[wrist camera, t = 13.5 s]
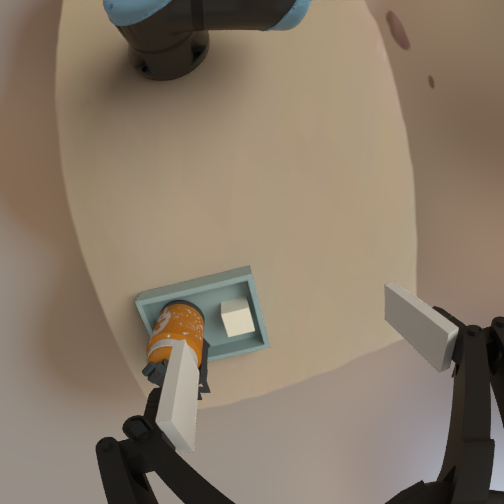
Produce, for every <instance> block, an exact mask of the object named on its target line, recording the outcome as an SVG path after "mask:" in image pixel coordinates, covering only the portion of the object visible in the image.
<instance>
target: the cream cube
mask: <svg viewBox="0 0 504 504" xmlns="http://www.w3.org/2000/svg"><path fill="white" fill-rule="evenodd" d="M221 316H222V319H223V322H224V325H225V328H226V331H227V334H228V337H232V336H236V335H240V334H244V333H248V332H253V331H255V328H254V324H253V319H252V315H251V311H250V308H249V304H248V300H247V296H244V297H240V298H236V299H232V300H227V301H223V302H221Z"/></svg>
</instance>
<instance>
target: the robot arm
mask: <svg viewBox="0 0 504 504" xmlns="http://www.w3.org/2000/svg"><path fill="white" fill-rule="evenodd" d="M310 4H311V0H103V6H104V9H105V11H106V12H107V14H108V17H109V20H110V21H111V22H112V23H113V24H114V25H115V26H116V27H117V29H118V30H119V31H120V33H121V34H122V35H123V37H124V38H125V39H126V40H127V42H128V43H129V58H130V61H131V63H132V65H133V67H134V68H135V69H136V70H137V71H138V72H139V73H140V74H141V75H143V76H144V77H147V78H149V79H153V80H170V79H175V78H178V77H181V76H183V75H185V74H187V73H189V72H191V71H192V70H193V69H195V68H196V67H197V66H198V65H199V64H200V63H201V62H202V61H203V59H204V58H205V56H206V54H207V52H208V49H209V34H208V30H259V31H270V30H280V31H285V30H290V29H292V28H294V27H296V26H297V25H298V24H299V23H300V22H301V21H302V19H303V18H304V16H305V15H306V13H307V11H308V9H309V6H310ZM384 288H385V320H386V321H387V322H388V323H389V324H390V325H391V326H392V327H393V328H394V329H395V330H396V331H397V332H398V333H400V334H401V335H402V336H403V337H404V338H405V339H406V340H407V341H408V342H409V343H410V344H411V345H412V346H413V347H414V348H415V349H416V350H417V351H418V352H419V353H420V354H421V355H422V356H423V357H424V358H425V359H426V360H427V361H428V362H429V363H430V364H431V365H432V366H433V367H434V368H435V369H436V370H437V371H438V372H439V373H441V372H443V371H445V370H446V369H448V368H450V364H451V361H452V360H453V361H454V362H455V363H456V364H455V367H454V371H453V374H452V377H454V388H453V401H452V411H451V420H450V428H449V434H448V440H447V445H446V451H445V456H444V460H443V465H442V469H441V471H440V474H439V476H438V478H437V481H435V482H429V483H425V484H424V482H423V481H422V480H421V481H420V482H418V483H416V484H414V485H412V486H411V487H409V488H407V489H405V490H403V491H401V492H400V493H398V494H397V495H396V496H394V497H393V498H392V499H390V500H389V501H388V502H386V503H385V504H504V491H495V490H489V487H490V482H491V475H492V467H493V459H494V448H495V441H494V439H491V438H490V430H491V429H490V428H491V395H490V383H491V386H492V389H493V392H494V395H495V398H496V401H497V405H498V408H499V412H500V415H501V419H502V423H503V427H504V317H496V318H494V319H493V320H492V323H491V326H490V327H486V328H484V329H482V328H481V327H479V326H477V325H468V326H466V325H465V324H463V323H462V322H460V321H459V320H458V319H456V318H455V317H454V316H452V315H451V314H449V313H448V312H446V311H445V310H444V309H442V308H439V307H436V306H434V307H432V308H431V307H430V306H429V305H427V304H426V303H424V302H423V301H421V300H420V299H419V298H417V297H416V296H414V295H413V294H412V293H410V292H409V291H407V290H406V289H404V288H403V287H401V286H400V285H398V284H397V283H396V282H394V281H393V282H390V283H387V284H384ZM198 384H199V370H198V368H197V365H196V363H195V361H194V359H193V356H192V354H191V352H190V349H189V347H188V345H187V342H186V340H185V339H184V340H179V341H174V343H173V347H172V351H171V355H170V359H169V363H168V367H167V371H166V375H165V380H164V384H163V387H160V388H154V389H153V390H152V391H151V393H150V394H149V397H148V400H147V404H146V409H145V413H144V416H140V415H136V416H132V417H130V418H128V419H127V420H126V421H125V423H124V424H123V428H122V429H123V432H124V433H125V435H126V436H127V437H128V438H129V439H126V440H122V441H119V442H118V441H116V439H114V438H113V437H104V438H103V439H101V440H100V441H99V442H98V443H97V445H96V454H97V460H98V465H99V470H100V474H101V478H102V482H103V486H104V490H105V494H106V498H107V501H108V504H158V502H157V499H156V497H155V495H154V493H153V491H152V489H151V486H150V484H149V481H148V479H147V477H146V474H145V473H148V472H152V471H155V472H156V473H157V474H158V476H160V478H161V479H162V480H163V481H164V482H165V483H166V485H167V486H168V487H169V488H170V489H171V490H172V491H173V492H174V493H175V494H176V495H177V496H178V497H179V498H180V499H181V500H182V501H183V502H184V503H185V504H235V503H234V502H233V501H231V500H230V499H229V498H227V497H226V496H225V495H223V494H222V493H221V492H220V491H218V490H217V489H216V488H215V487H214V486H212V485H211V484H210V483H209V482H207V481H206V480H205V479H204V478H203V477H202V476H201V475H199V474H198V473H197V472H196V471H195V470H194V469H193V468H192V467H191V466H190V465H188V463H186V462H185V461H184V460H183V459H182V458H181V457H180V456H179V455H178V454H177V453H176V452H175V448H176V449H177V450H178V452H179V453H194V450H195V430H196V429H195V428H196V413H197V398H198Z"/></svg>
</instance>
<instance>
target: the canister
mask: <svg viewBox="0 0 504 504" xmlns="http://www.w3.org/2000/svg"><path fill="white" fill-rule="evenodd" d="M204 326H205V318H204V315H203V313H202V311H201V310H200V309H199V307H198V306H196V305H195V304H193V303H191V302H189V301H186V300H174V301H171V302H169V303H168V304H166V305H165V306H164V307H163V309H162V311H161V313H160V316H159V318H158V320H157V323H156V325H155V328H154V330H153V333H152V335H151V338H150V341H149V343H148V346H147V366H146V367H145V368H144V369H143V371H142V373H143V374H144V376H148V381H150V382H151V383H153V384H154V383H155V384H156V385H158V386H160V387H163V384H164V380H165V375H166V371H167V367H168V363H169V359H170V355H171V351H172V347H173V343H174V341H179V340H184V339H185V340H186V342H187V345H188V347H189V349H190V352H191V354H192V356H193V359H194V361H195V363H196V365H197V368H198V370H199V384H202V385H203V387H199V384H198V398H197V400H202V397H201V394H200V393H210V389H209V387H208V384H207V372H208V369H207V361H208V348H209V347H210V346H211V345H210V344H209V343H208V342H207V341H206V340H205V339H204V338H203V336H204Z"/></svg>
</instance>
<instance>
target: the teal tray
mask: <svg viewBox="0 0 504 504" xmlns="http://www.w3.org/2000/svg"><path fill="white" fill-rule="evenodd" d="M244 296H247V300H248V304H249V308H250V311H251V315H252V319H253V324H254V328H255V331H253V332H248V333H244V334H240V335H236V336H232V337H228V334H227V331H226V328H225V325H224V322H223V319H222V316H221V302H223V301H227V300H232V299H236V298H240V297H244ZM174 300H186V301H189V302H191V303H193V304H195V305H196V306H198V307H199V309H200V310H201V311H202V313H203V315H204V318H205V326H204V336H203V338H204V339H205V340H206V341H207V342H208V343H209V344H210V345H211V346H210V347H209V348H208V361H213V360H218V359H223V358H227V357H232V356H237V355H241V354H245V353H249V352H254V351H258V350H262V349H266V348H270V344H269V340H268V336H267V332H266V328H265V324H264V320H263V316H262V312H261V308H260V304H259V300H258V296H257V291H256V287H255V283H254V279H253V275H252V272H251V269H250V265H249V266H245V267H241V268H237V269H233V270H229V271H225V272H221V273H217V274H213V275H209V276H205V277H201V278H197V279H193V280H189V281H185V282H181V283H177V284H173V285H169V286H164V287H160V288H156V289H152V290H148V291H144V292H141V293H140V294H139V296H138V298H137V299H136V301H135V304H136V306H137V308H138V311H139V313H140V316H141V318H142V320H143V322H144V325H145V327H146V329H147V331H148V334H149V336H150V338H151V335H152V333H153V330H154V328H155V325H156V323H157V320H158V318H159V316H160V313H161V311H162V309H163V307H164V306H165V305H166V304H168V303H169V302H171V301H174ZM208 361H207V362H208Z"/></svg>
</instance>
